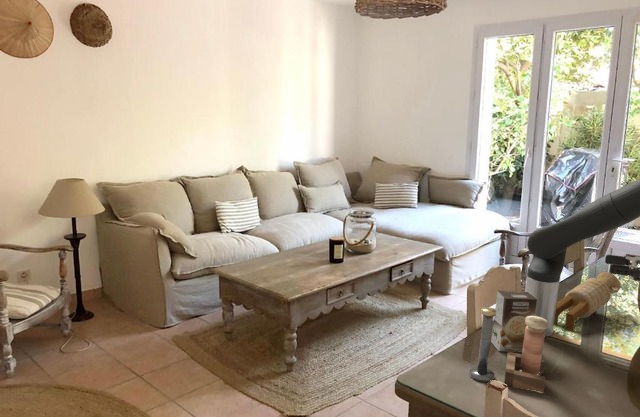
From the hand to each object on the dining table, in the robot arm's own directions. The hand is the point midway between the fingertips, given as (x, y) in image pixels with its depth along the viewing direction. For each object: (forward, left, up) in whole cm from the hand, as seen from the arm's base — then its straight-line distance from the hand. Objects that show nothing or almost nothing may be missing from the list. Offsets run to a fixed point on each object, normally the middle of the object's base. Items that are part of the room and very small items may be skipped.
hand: (607, 263), depth 122 cm
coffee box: (-14, -19, -32) cm, 40 cm away
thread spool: (+3, -14, -32) cm, 35 cm away
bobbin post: (+7, -25, -32) cm, 41 cm away
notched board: (+3, -15, -32) cm, 36 cm away
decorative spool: (-49, +2, -32) cm, 59 cm away
